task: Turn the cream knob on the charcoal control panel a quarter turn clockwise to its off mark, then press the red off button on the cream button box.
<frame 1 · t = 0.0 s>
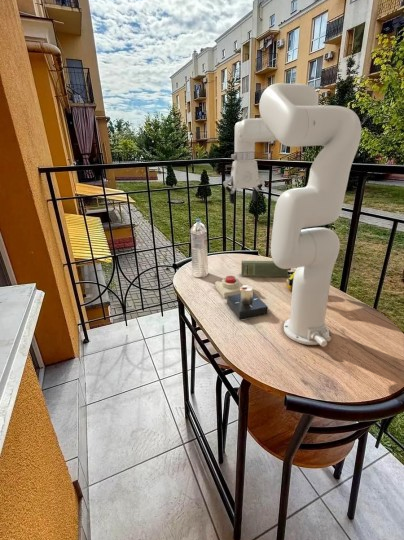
hand: (243, 202, 112), 31 cm above the table, tool pointing down, fingers open, 9 cm apart
gaming controller: (303, 290, 107), on the table
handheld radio: (270, 276, 120), on the table
water bottle: (200, 275, 123), on the table
button box: (230, 290, 109), on the table
off button: (230, 279, 107), point 4 cm above the table, slide at 0.1 cm
control panel: (246, 308, 96), on the table
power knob: (246, 294, 94), point 6 cm above the table, hinge at 90.0°
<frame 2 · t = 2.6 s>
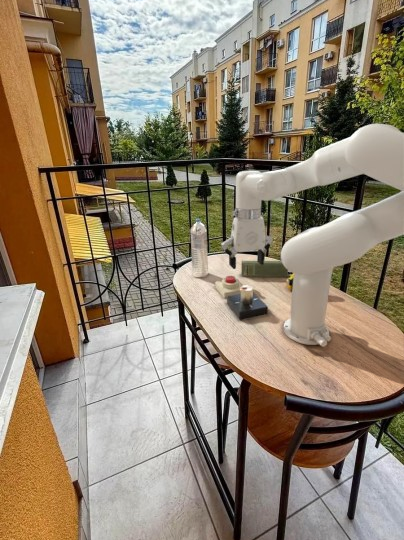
hand: (246, 265, 91), 16 cm above the table, tool pointing down, fingers open, 9 cm apart
nothing on the table moved.
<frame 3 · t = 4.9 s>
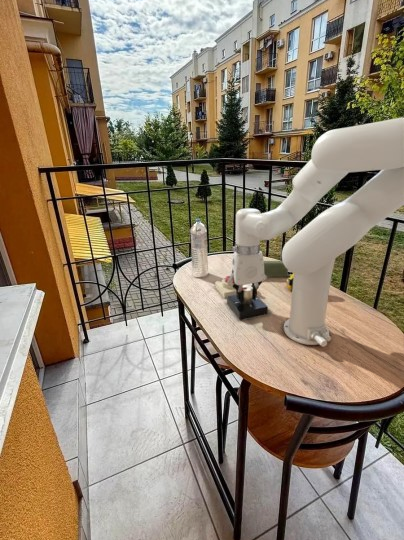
hand: (246, 298, 95), 4 cm above the table, tool pointing down, fingers closed on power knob, 4 cm apart
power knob: (246, 294, 94), point 6 cm above the table, hinge at 90.0°, touching gripper
everything else where it was.
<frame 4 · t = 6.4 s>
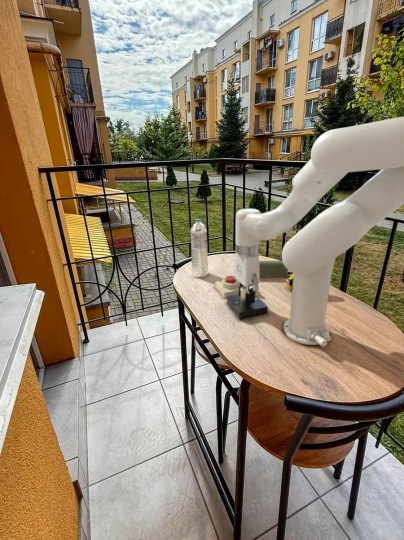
hand: (246, 298, 95), 4 cm above the table, tool pointing down, fingers open, 4 cm apart
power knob: (246, 294, 94), point 6 cm above the table, hinge at -0.5°
everything else where it was.
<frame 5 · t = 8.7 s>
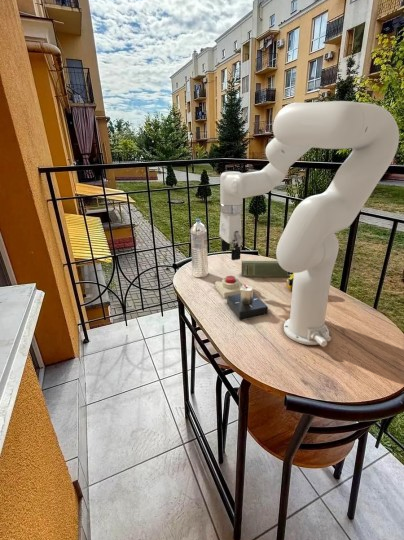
hand: (230, 254, 103), 15 cm above the table, tool pointing down, fingers open, 9 cm apart
nothing on the table moved.
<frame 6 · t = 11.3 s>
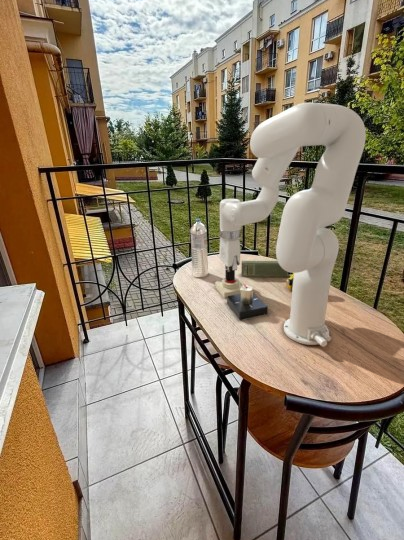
hand: (230, 279, 108), 5 cm above the table, tool pointing down, fingers closed
off button: (230, 281, 108), point 4 cm above the table, slide at -0.7 cm, touching gripper
everything else where it was.
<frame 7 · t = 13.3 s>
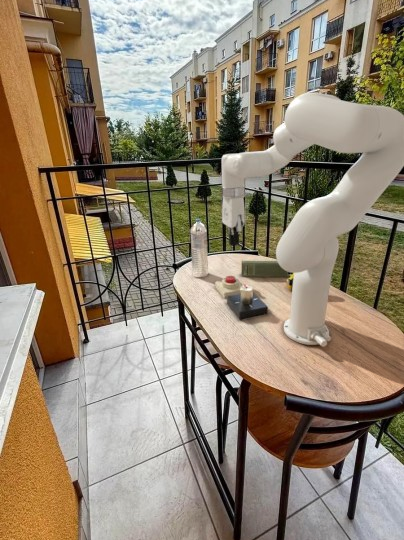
hand: (234, 244, 100), 19 cm above the table, tool pointing down, fingers closed
off button: (230, 279, 107), point 4 cm above the table, slide at 0.1 cm
everything else where it was.
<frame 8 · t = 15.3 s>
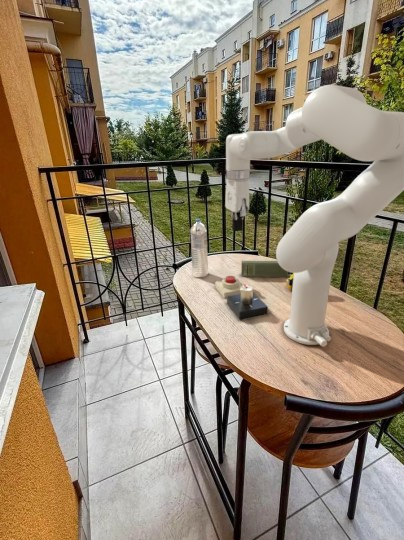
hand: (237, 230, 97), 25 cm above the table, tool pointing down, fingers closed
nothing on the table moved.
at the end: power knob at +0° (first picture: +90°); off button pushed in 1.1 cm at the most during the clip, back to where it started at the end; off button slide at 0.1 cm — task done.
